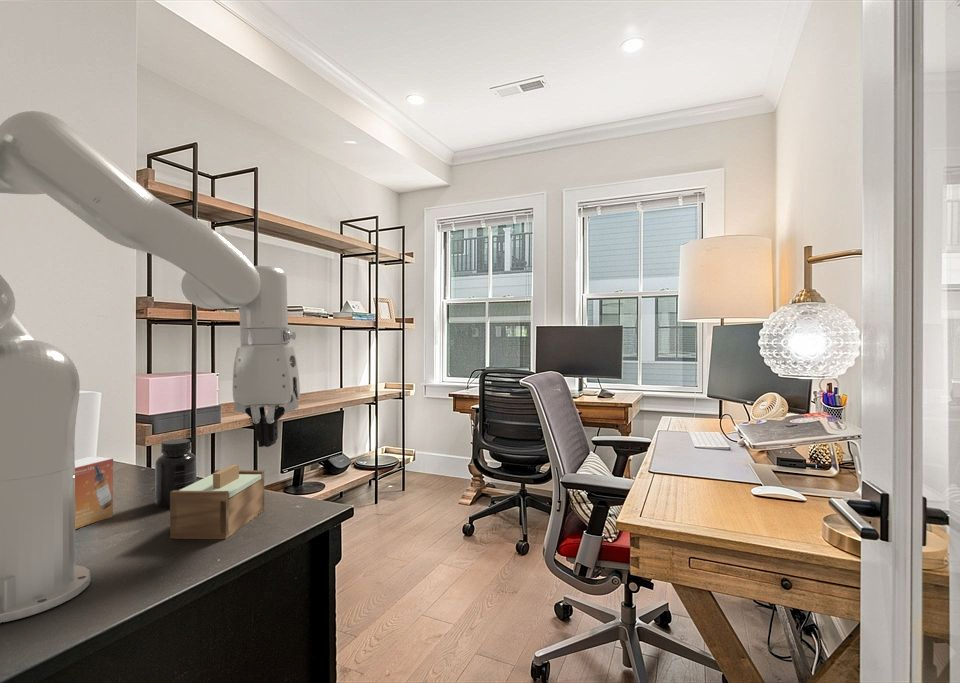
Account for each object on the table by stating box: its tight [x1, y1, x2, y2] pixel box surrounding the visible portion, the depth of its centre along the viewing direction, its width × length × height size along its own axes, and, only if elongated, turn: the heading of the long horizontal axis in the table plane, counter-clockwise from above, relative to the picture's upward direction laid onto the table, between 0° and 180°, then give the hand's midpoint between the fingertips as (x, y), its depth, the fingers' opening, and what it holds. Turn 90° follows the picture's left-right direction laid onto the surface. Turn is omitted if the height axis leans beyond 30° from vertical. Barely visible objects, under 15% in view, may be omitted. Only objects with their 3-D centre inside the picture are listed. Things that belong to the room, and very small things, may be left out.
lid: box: [179, 463, 261, 498], centre depth 84 cm, size 11×9×3 cm
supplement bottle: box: [154, 438, 197, 509], centre depth 94 cm, size 7×7×12 cm
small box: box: [75, 456, 114, 530], centre depth 84 cm, size 8×6×10 cm
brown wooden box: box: [169, 469, 265, 540], centre depth 84 cm, size 13×9×7 cm
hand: (267, 444), depth 84 cm, fingers closed
